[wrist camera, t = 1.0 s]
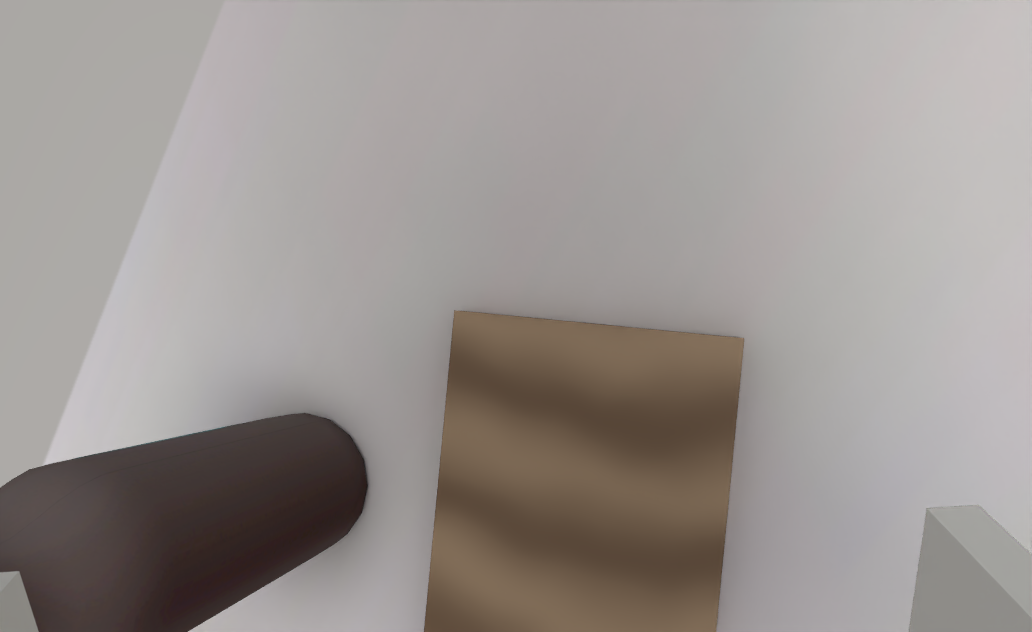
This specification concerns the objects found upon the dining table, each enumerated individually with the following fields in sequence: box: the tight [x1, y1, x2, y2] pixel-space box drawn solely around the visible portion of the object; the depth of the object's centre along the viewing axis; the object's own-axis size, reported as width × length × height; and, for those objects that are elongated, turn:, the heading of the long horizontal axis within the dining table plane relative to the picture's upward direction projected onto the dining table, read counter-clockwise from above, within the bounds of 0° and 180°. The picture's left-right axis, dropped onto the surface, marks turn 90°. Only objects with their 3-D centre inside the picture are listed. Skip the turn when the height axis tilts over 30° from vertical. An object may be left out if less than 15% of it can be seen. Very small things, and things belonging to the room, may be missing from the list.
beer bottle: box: [0, 413, 367, 632], centre depth 27 cm, size 8×8×30 cm
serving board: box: [424, 310, 744, 632], centre depth 38 cm, size 20×14×2 cm
